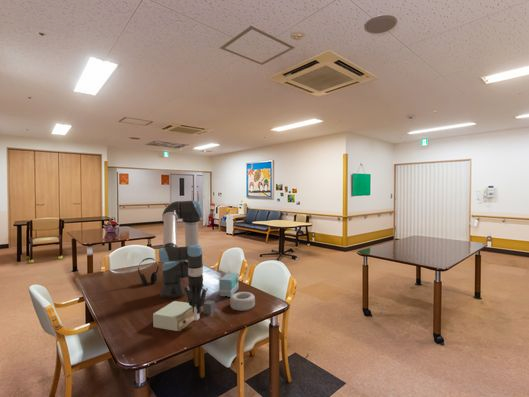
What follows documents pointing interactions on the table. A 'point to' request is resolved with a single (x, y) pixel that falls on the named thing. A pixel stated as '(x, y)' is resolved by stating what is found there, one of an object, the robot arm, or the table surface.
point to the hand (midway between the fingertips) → (196, 318)
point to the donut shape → (242, 301)
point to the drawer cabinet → (170, 315)
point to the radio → (229, 284)
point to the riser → (209, 307)
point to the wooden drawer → (185, 319)
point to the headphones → (153, 276)
